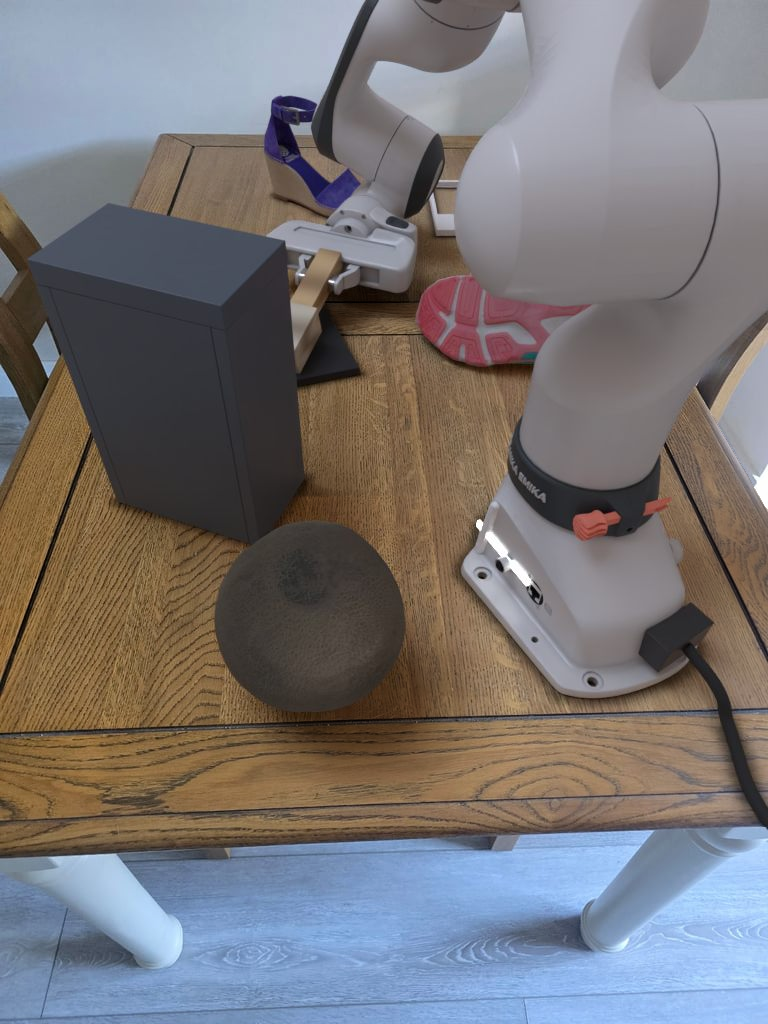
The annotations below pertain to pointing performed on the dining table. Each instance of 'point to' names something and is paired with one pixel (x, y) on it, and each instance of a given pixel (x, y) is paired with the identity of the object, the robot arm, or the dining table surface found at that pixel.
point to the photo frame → (443, 221)
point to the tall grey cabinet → (181, 364)
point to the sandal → (300, 161)
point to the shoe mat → (327, 355)
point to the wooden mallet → (312, 303)
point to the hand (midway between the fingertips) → (316, 285)
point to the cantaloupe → (309, 617)
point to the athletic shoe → (486, 323)
